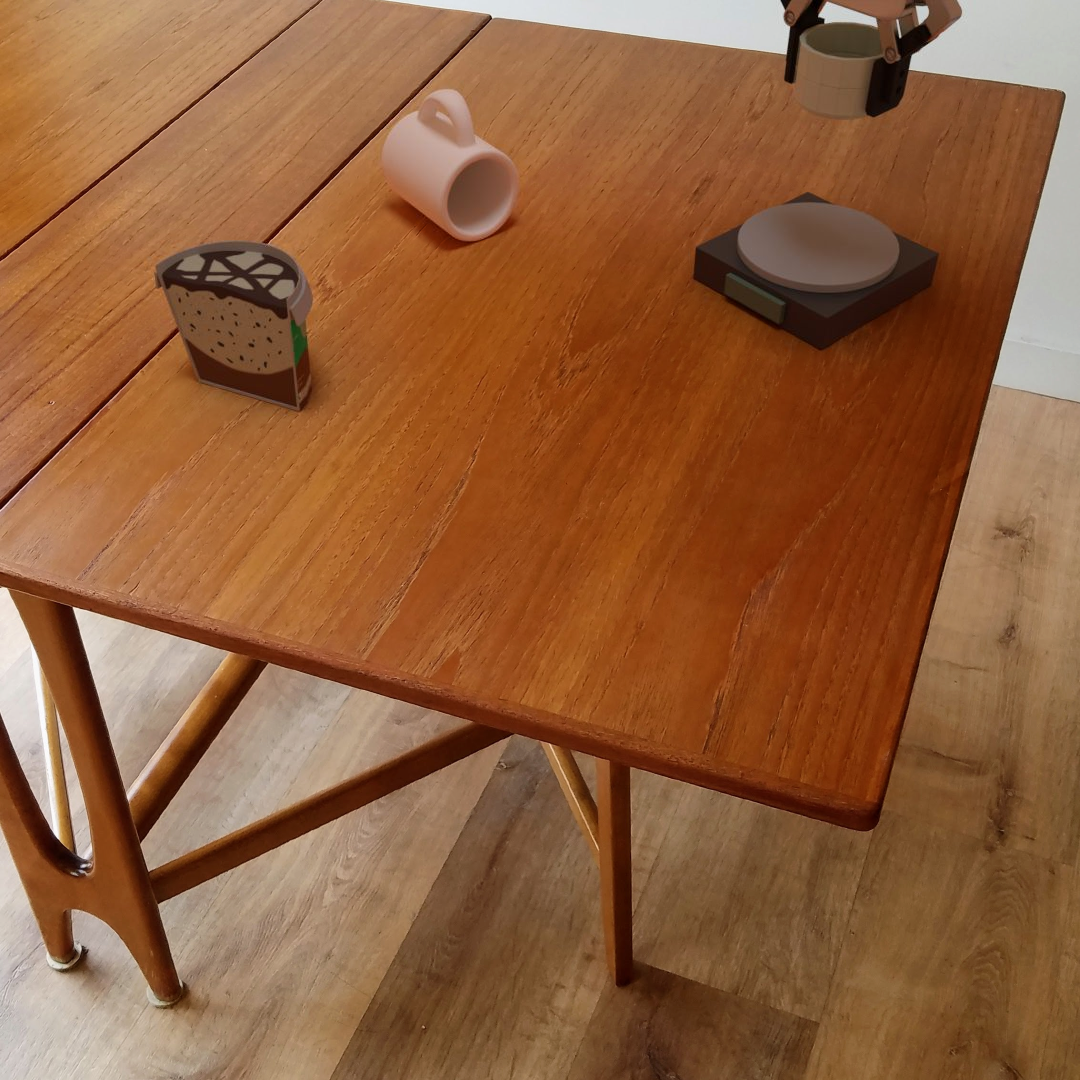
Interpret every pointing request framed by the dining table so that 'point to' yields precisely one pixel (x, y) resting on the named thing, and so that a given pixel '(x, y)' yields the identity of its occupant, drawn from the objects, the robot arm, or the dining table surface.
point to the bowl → (836, 69)
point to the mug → (450, 169)
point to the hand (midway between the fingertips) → (840, 92)
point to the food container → (242, 318)
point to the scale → (815, 268)
